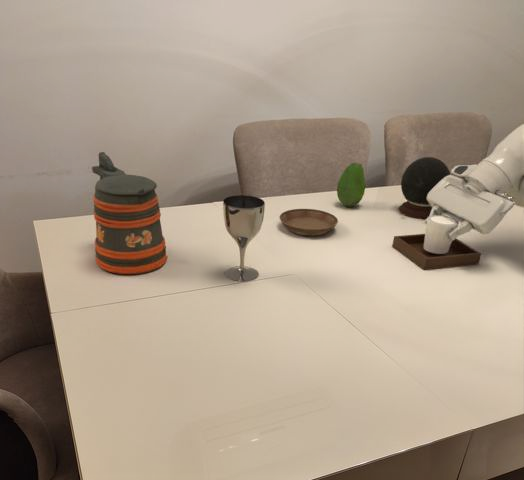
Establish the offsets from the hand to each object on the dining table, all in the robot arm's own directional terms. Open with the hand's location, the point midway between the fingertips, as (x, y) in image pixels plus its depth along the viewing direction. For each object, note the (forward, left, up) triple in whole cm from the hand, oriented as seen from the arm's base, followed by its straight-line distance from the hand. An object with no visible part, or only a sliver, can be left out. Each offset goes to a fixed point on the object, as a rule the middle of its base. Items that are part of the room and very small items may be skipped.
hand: (437, 231), depth 114 cm
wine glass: (+46, 0, -6) cm, 47 cm away
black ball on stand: (-15, -28, -6) cm, 32 cm away
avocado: (+3, -37, -6) cm, 38 cm away
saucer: (+22, -22, -6) cm, 32 cm away
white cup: (-1, 0, -5) cm, 5 cm away
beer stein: (+68, -13, -6) cm, 70 cm away
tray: (-1, 0, -6) cm, 6 cm away
